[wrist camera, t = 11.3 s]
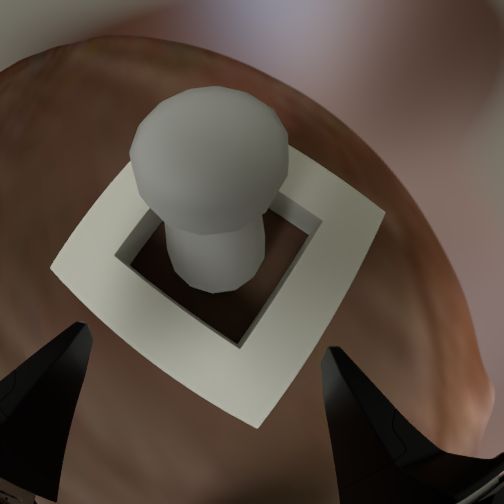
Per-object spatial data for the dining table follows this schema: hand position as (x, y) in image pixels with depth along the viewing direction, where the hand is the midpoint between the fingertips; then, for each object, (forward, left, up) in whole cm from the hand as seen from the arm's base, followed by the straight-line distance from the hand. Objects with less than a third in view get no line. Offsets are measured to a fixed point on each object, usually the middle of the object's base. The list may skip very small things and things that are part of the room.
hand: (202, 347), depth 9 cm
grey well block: (+5, +3, -8) cm, 10 cm away
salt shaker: (+5, +3, -9) cm, 10 cm away
